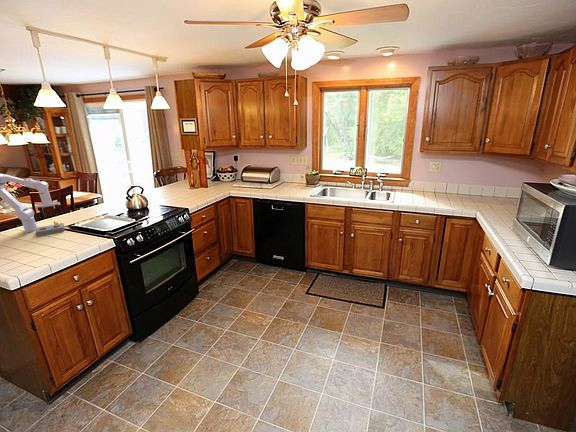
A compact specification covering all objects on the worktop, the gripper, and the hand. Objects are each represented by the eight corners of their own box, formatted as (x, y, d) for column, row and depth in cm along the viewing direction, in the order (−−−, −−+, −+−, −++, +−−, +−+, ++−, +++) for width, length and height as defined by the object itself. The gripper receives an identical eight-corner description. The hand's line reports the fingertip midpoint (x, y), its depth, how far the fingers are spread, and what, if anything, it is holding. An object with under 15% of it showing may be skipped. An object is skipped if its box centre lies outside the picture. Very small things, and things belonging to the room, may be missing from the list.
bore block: (37, 231, 216) (36, 227, 215) (64, 226, 225) (63, 222, 224) (36, 236, 207) (35, 232, 206) (64, 231, 216) (63, 227, 215)
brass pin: (55, 229, 218) (53, 221, 216) (60, 228, 220) (57, 220, 218) (55, 230, 216) (53, 222, 214) (59, 229, 218) (57, 221, 216)
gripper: (32, 201, 209) (38, 219, 213) (58, 197, 217) (63, 215, 221) (33, 199, 214) (39, 216, 219) (58, 195, 222) (63, 212, 227)
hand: (51, 215), depth 220 cm, fingers open, 7 cm apart
